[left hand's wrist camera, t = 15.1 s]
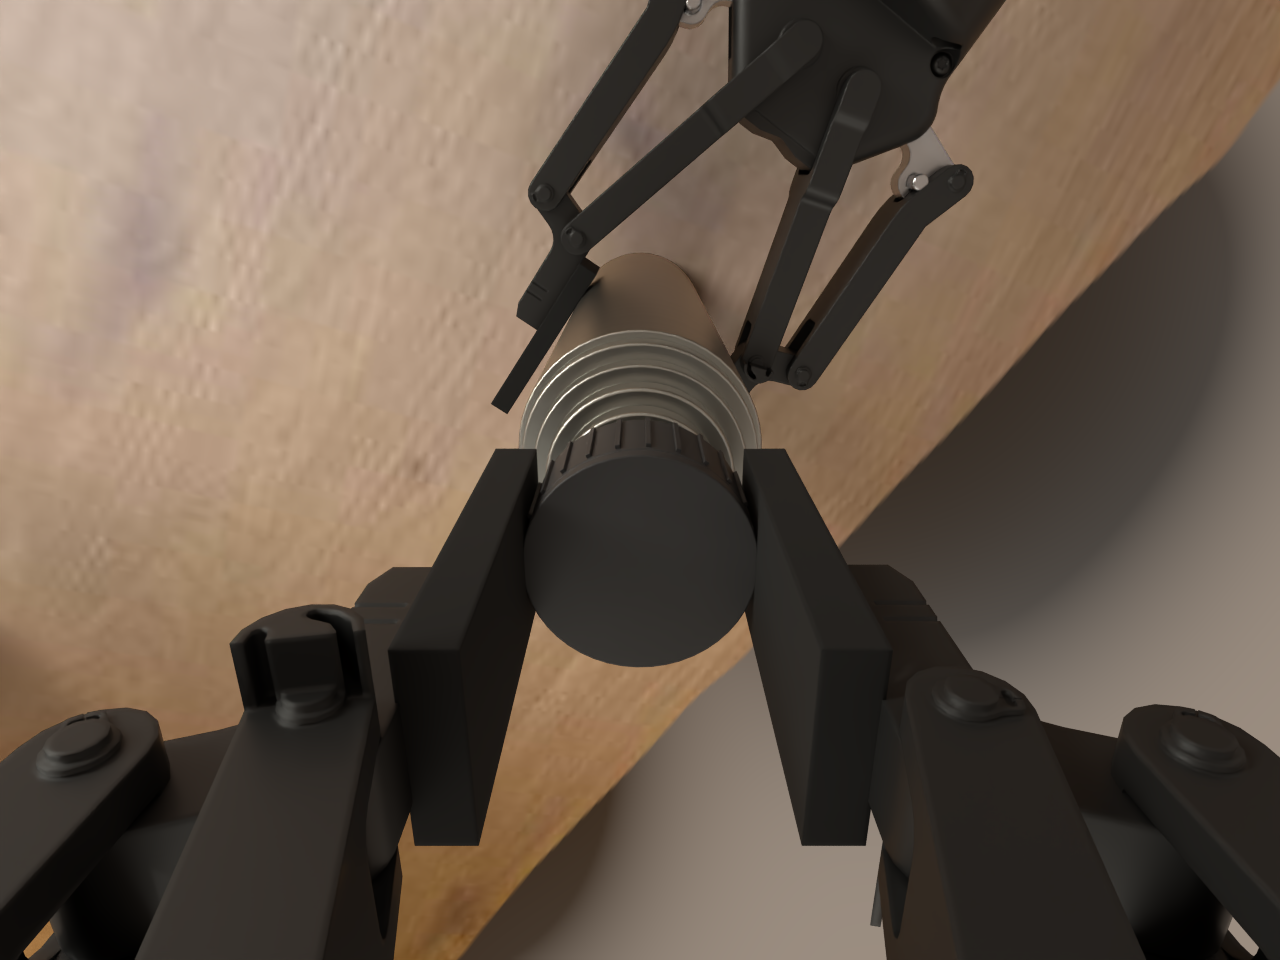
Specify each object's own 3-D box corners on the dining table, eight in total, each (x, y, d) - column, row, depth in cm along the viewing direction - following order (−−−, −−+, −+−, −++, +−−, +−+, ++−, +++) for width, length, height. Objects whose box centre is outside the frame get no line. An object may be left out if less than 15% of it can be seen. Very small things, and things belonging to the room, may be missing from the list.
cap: (645, 369, 13) (646, 399, 12) (791, 522, 15) (813, 572, 13) (489, 512, 14) (466, 561, 13) (636, 646, 16) (635, 709, 14)
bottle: (695, 246, 35) (805, 374, 12) (704, 368, 37) (813, 681, 14) (572, 259, 36) (441, 410, 12) (588, 379, 38) (501, 707, 14)
